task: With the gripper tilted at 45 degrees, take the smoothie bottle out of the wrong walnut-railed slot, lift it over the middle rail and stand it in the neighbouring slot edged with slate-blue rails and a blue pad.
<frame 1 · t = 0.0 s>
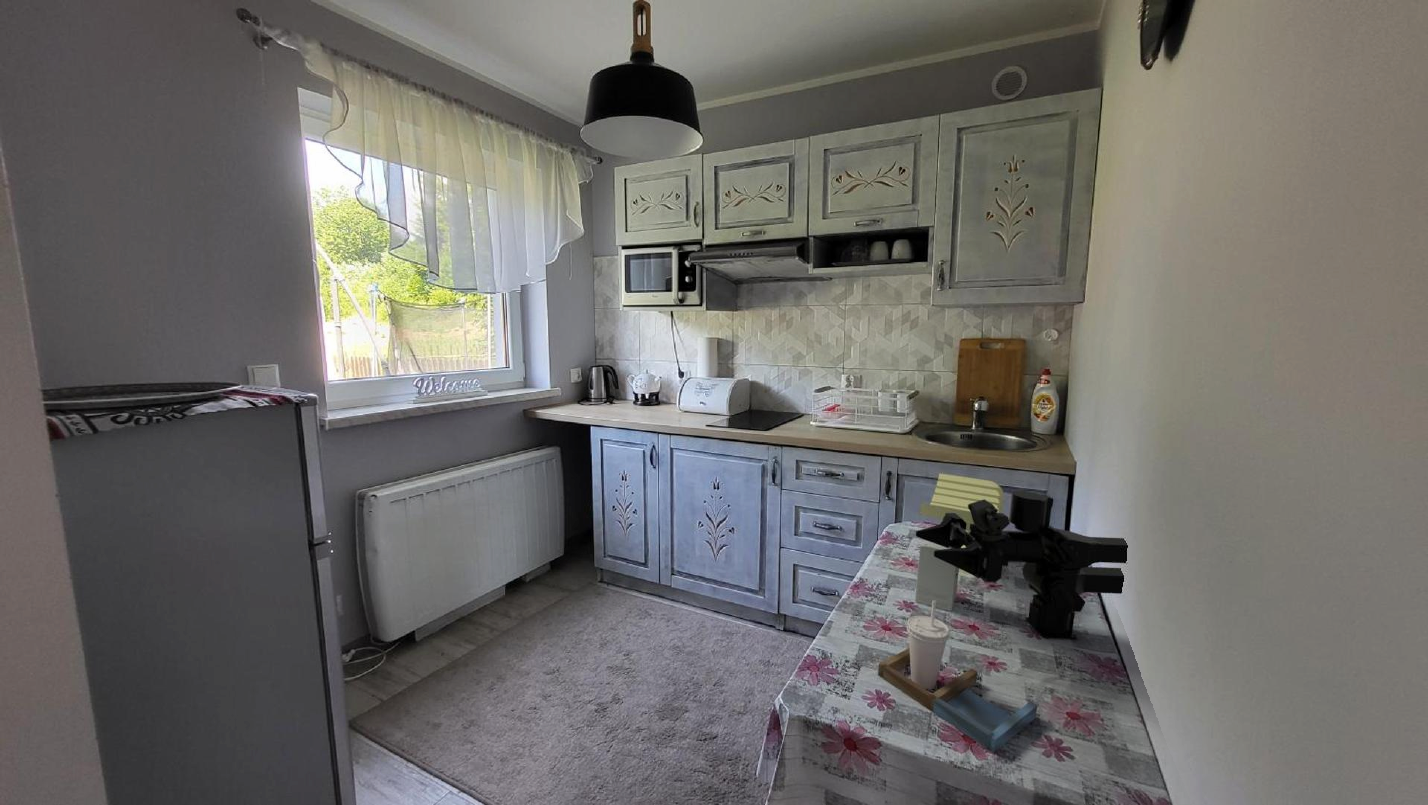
hand: (924, 543, 99), 17 cm above the table, tool horizontal, fingers open, 9 cm apart
smoothie: (923, 682, 85), resting in blue and brown frame
blue and brown frame: (949, 697, 81), on the table
supplement box: (935, 600, 111), on the table
slatted curved stool: (959, 561, 130), on the table
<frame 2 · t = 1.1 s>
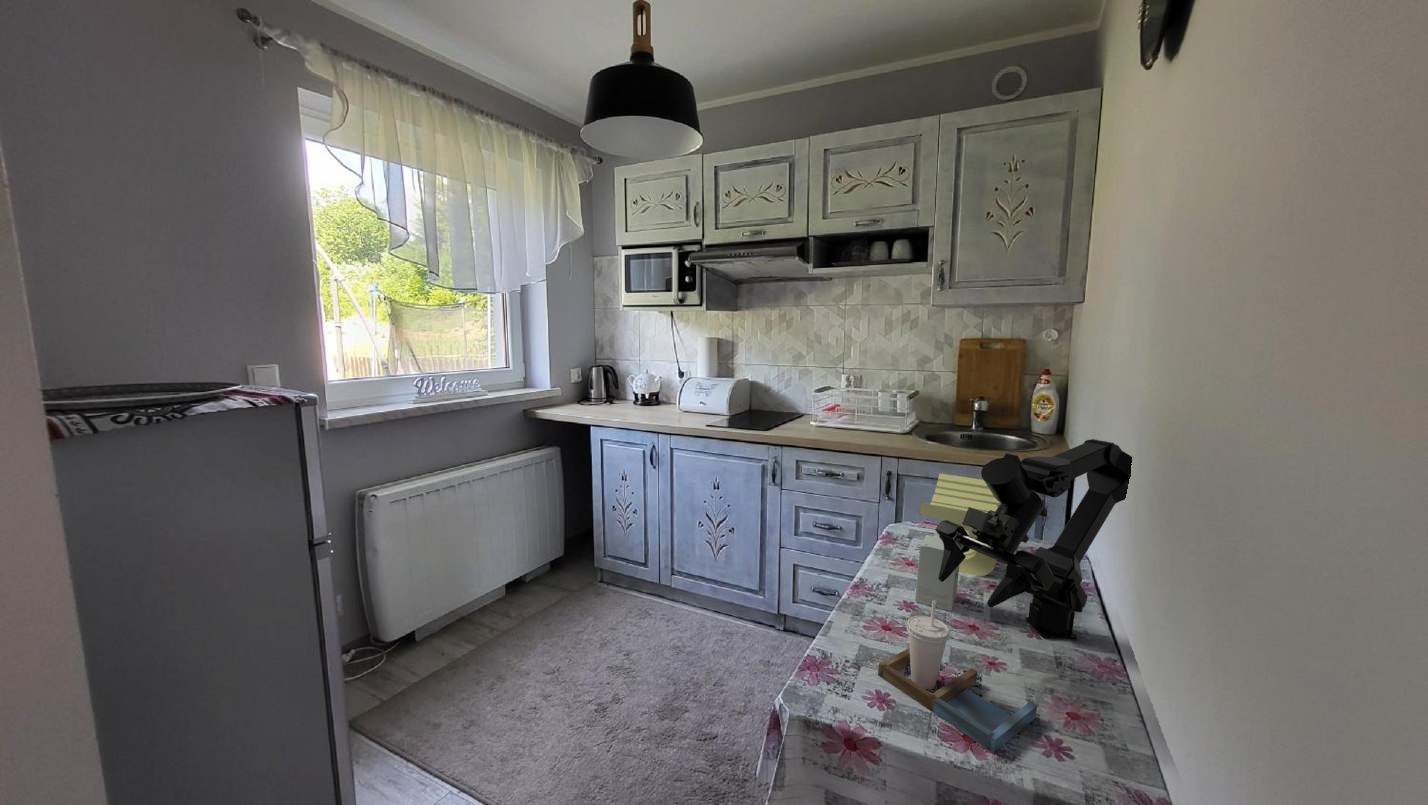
hand: (963, 592, 86), 14 cm above the table, tool tilted 45°, fingers open, 9 cm apart
nothing on the table moved.
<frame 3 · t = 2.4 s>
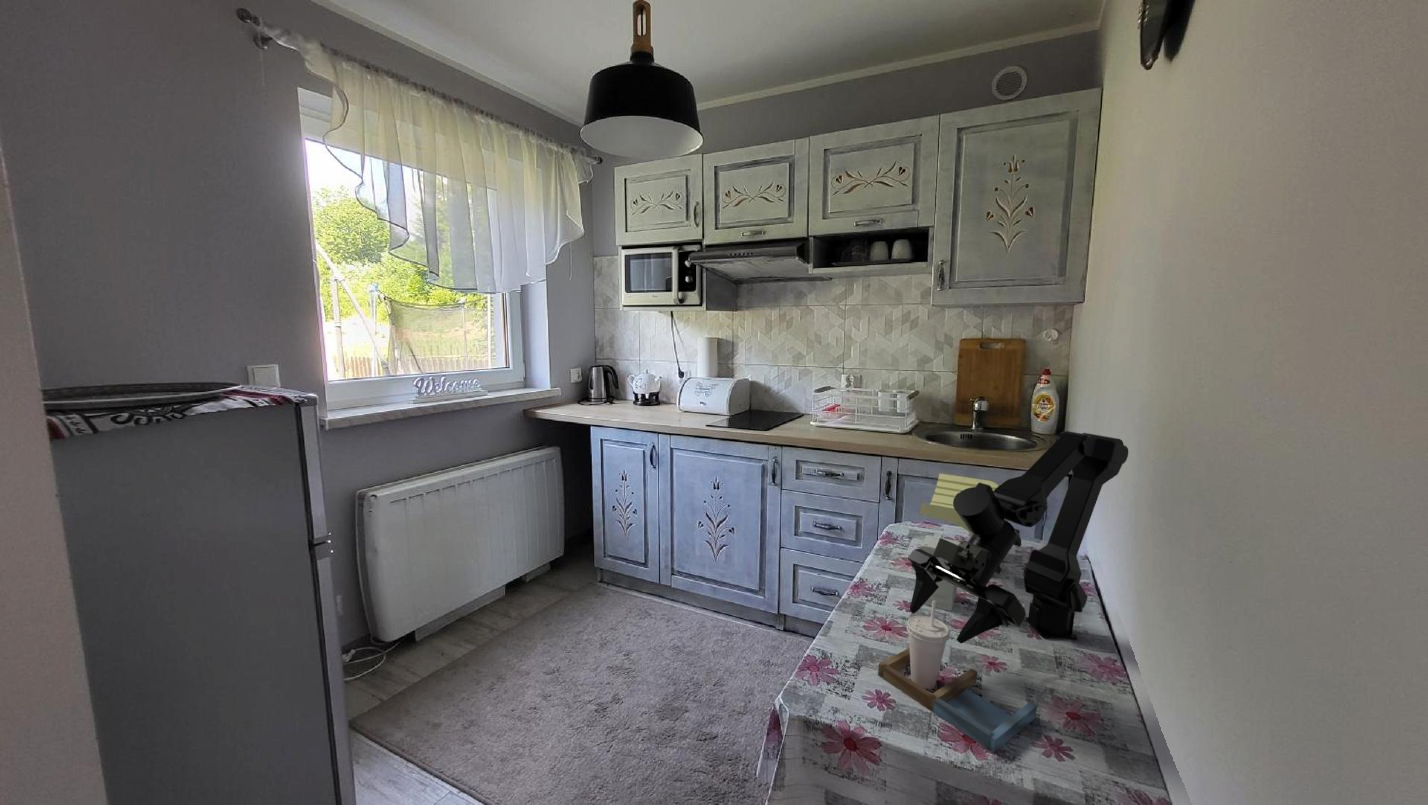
hand: (933, 626, 84), 9 cm above the table, tool tilted 45°, fingers open, 9 cm apart
nothing on the table moved.
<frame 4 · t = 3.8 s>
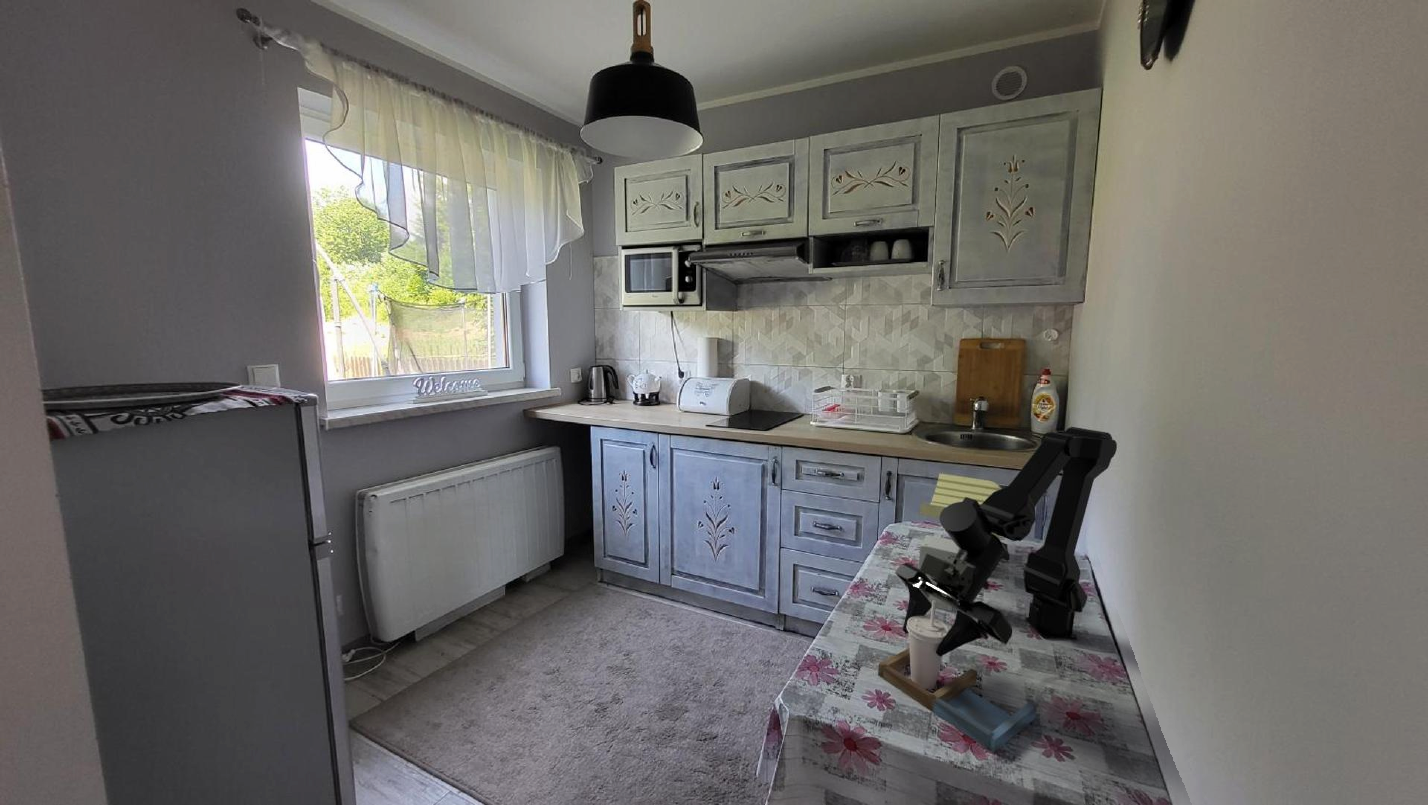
hand: (920, 643, 83), 7 cm above the table, tool tilted 45°, fingers closed on smoothie, 6 cm apart
smoothie: (923, 682, 85), resting in blue and brown frame, touching gripper
everything else where it was.
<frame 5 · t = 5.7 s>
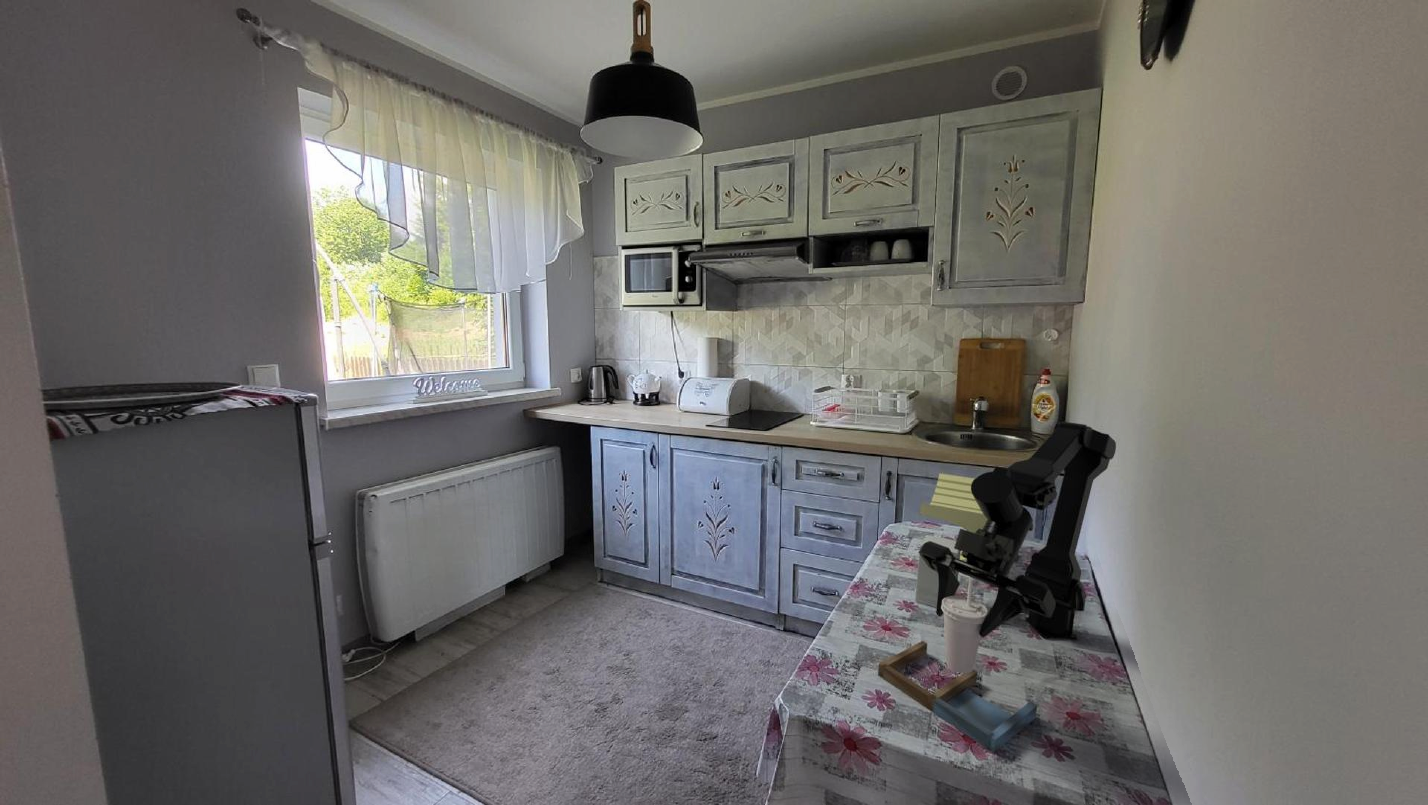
hand: (958, 625, 77), 13 cm above the table, tool tilted 45°, fingers closed on smoothie, 6 cm apart
smoothie: (959, 666, 79), point 6 cm above the table, touching gripper
everything else where it was.
when the fingers open (9 cm above the table, at t = 7.6 s): smoothie drops 1 cm, resting on blue and brown frame.
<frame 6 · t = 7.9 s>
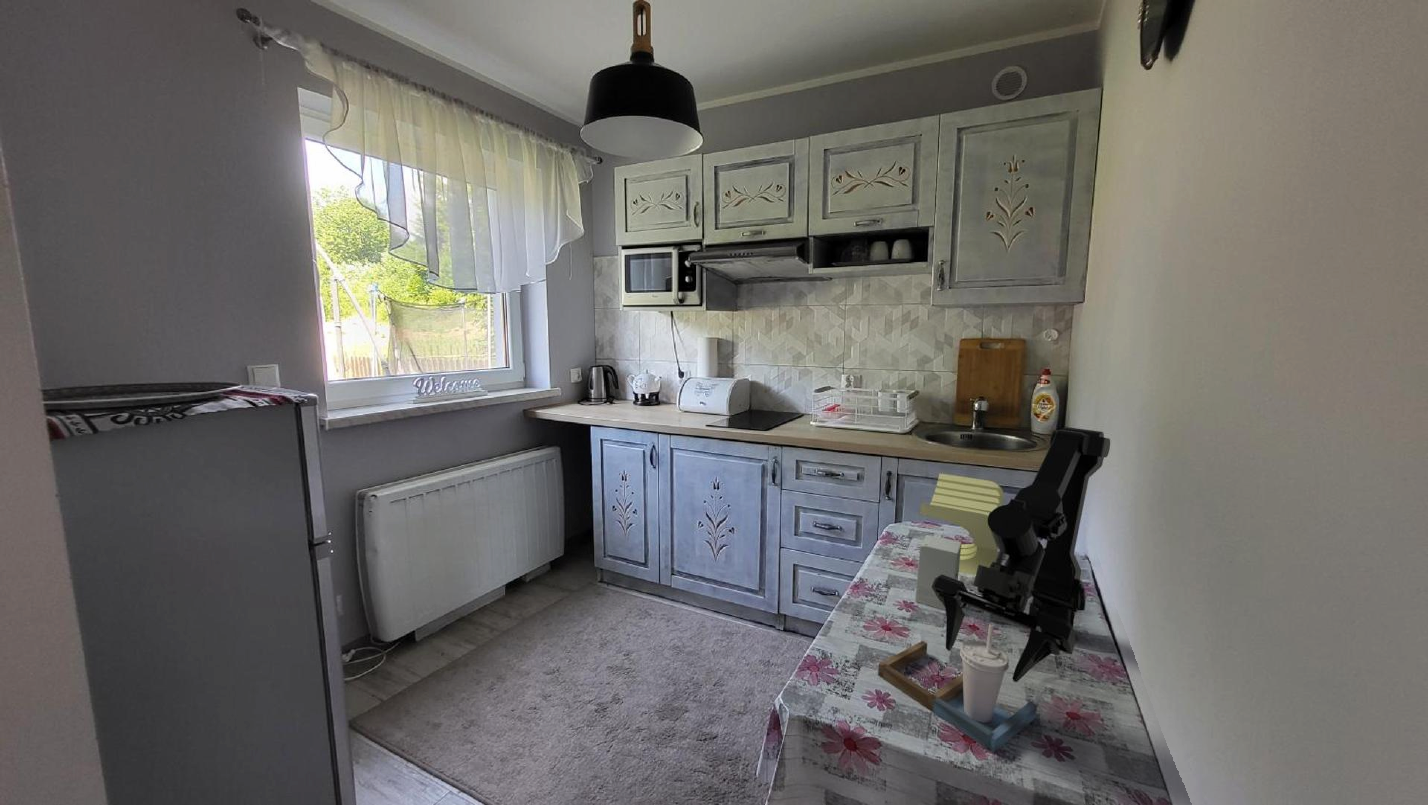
hand: (979, 664, 75), 9 cm above the table, tool tilted 45°, fingers open, 9 cm apart
smoothie: (977, 714, 77), resting on blue and brown frame
everything else where it was.
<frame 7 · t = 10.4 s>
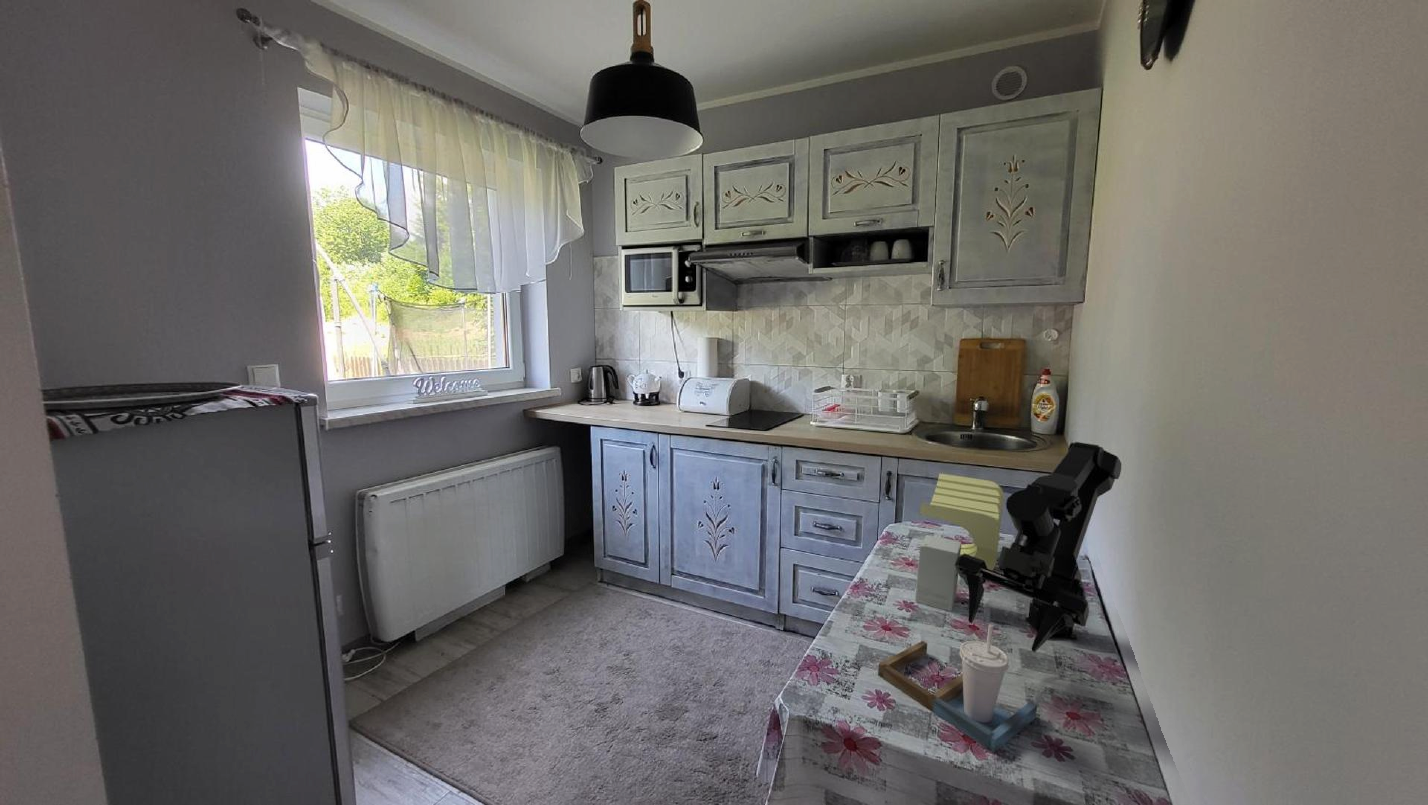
hand: (1000, 636, 82), 9 cm above the table, tool tilted 40°, fingers open, 9 cm apart
nothing on the table moved.
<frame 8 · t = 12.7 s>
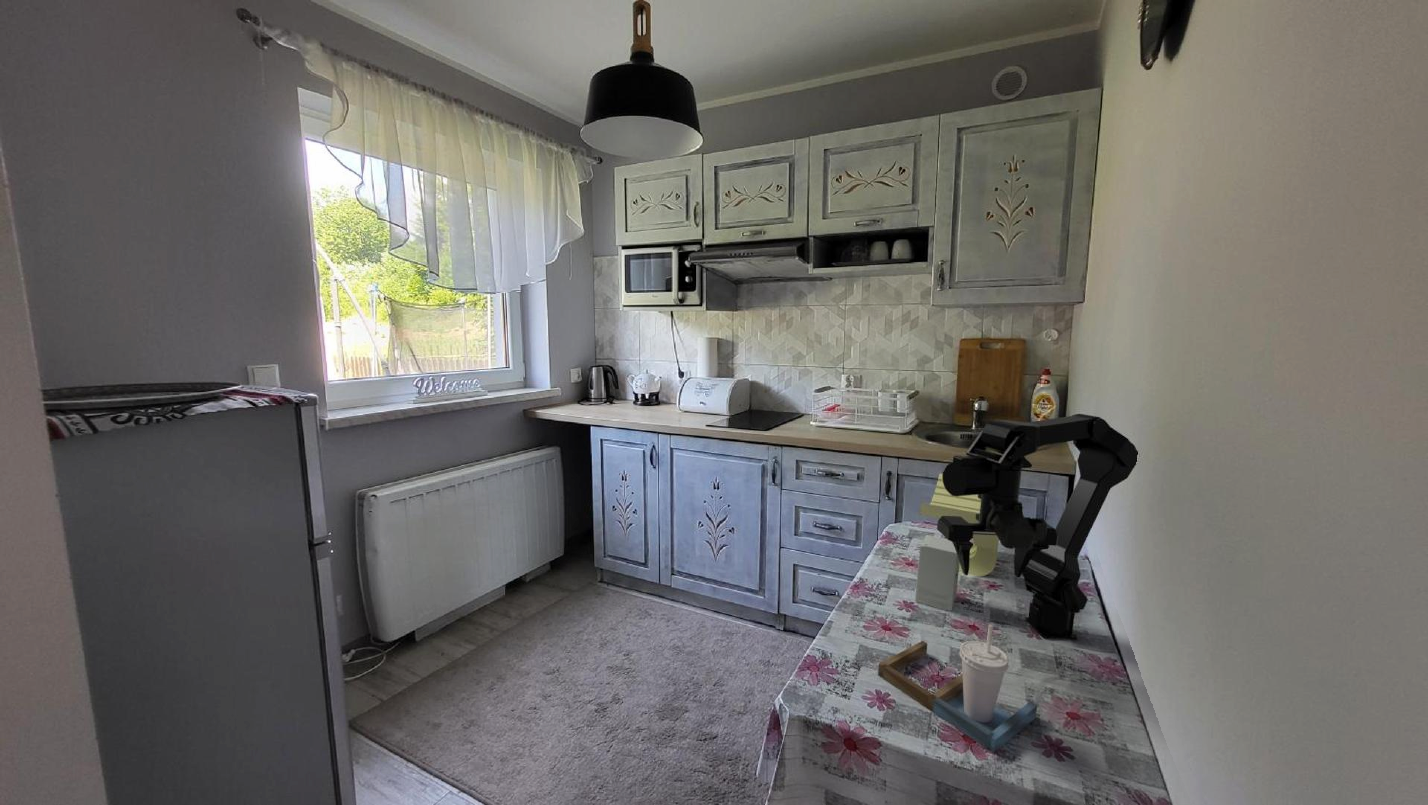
hand: (991, 575, 94), 13 cm above the table, tool pointing down, fingers open, 9 cm apart
nothing on the table moved.
at the end: smoothie 0.2 cm from the target spot, resting on blue and brown frame; smoothie tilted 0°; the gripper is holding nothing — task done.
